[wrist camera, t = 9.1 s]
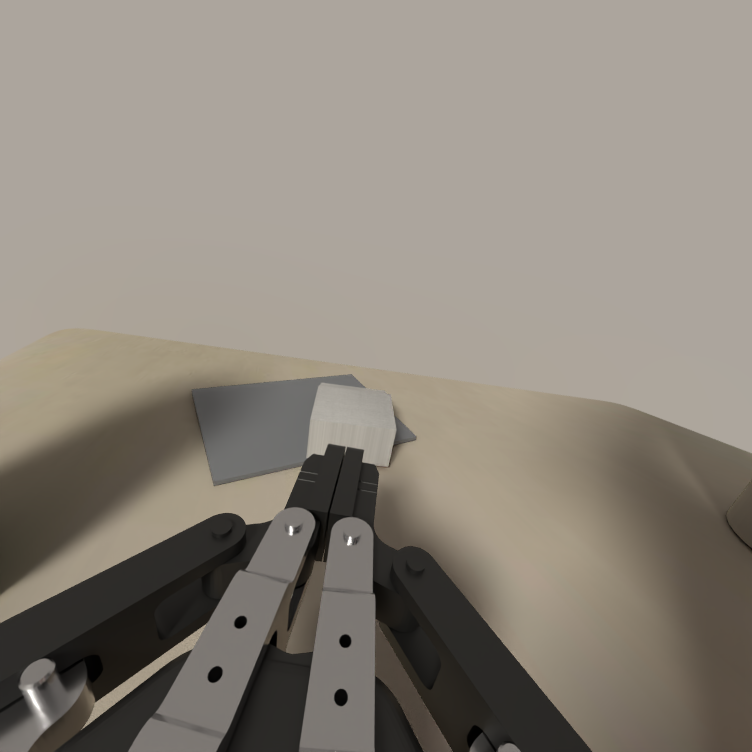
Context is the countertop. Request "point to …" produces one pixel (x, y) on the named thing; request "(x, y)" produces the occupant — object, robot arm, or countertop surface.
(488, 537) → the countertop surface
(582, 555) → the countertop surface
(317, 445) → the tea packet
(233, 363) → the countertop surface
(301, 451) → the mat
